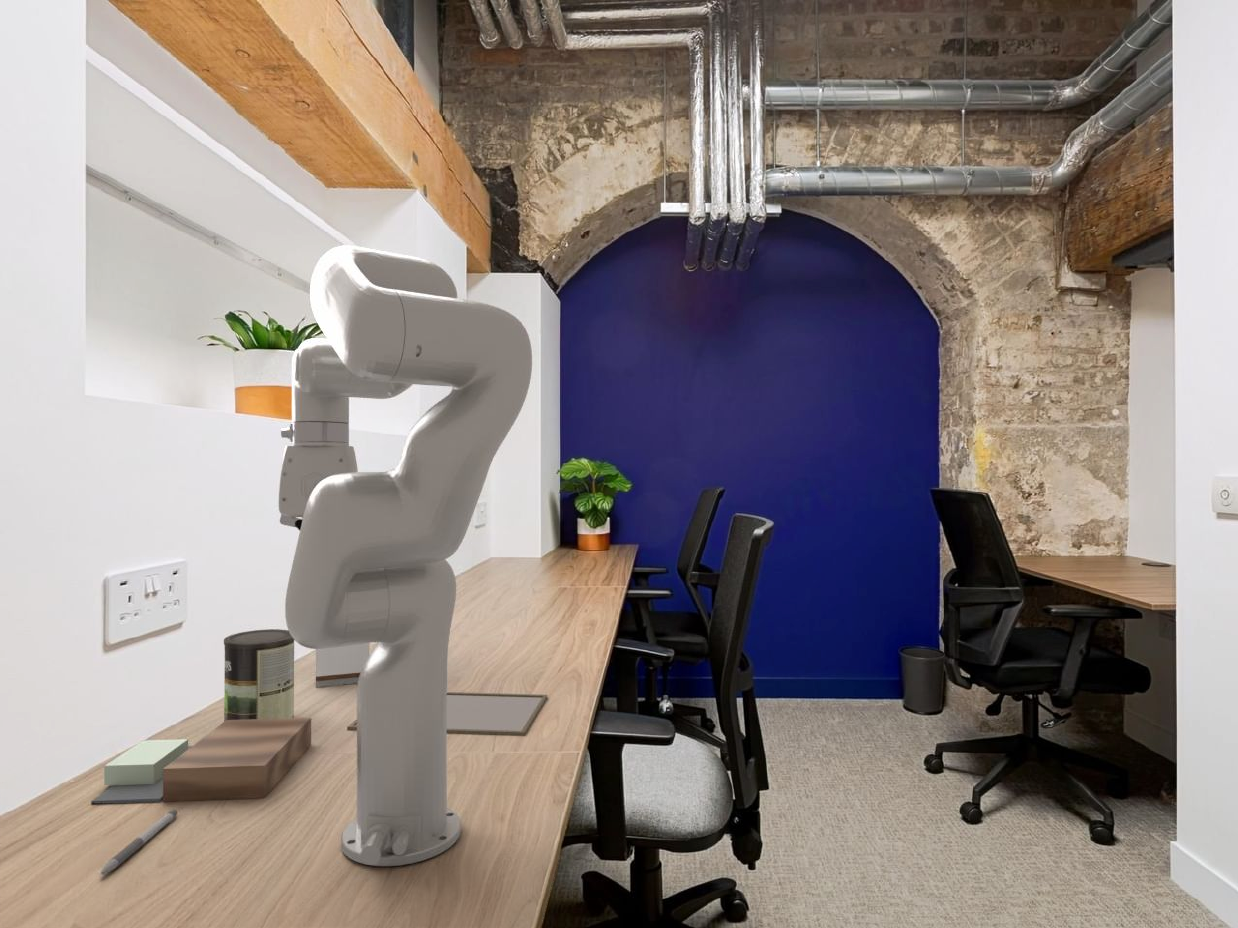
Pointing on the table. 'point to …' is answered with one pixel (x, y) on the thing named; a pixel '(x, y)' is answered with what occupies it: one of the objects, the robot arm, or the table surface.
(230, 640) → the coffee can
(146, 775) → the block
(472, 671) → the table surface
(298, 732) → the brown wooden flat block
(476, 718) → the picture frame
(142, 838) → the pen
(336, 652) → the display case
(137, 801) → the mat
